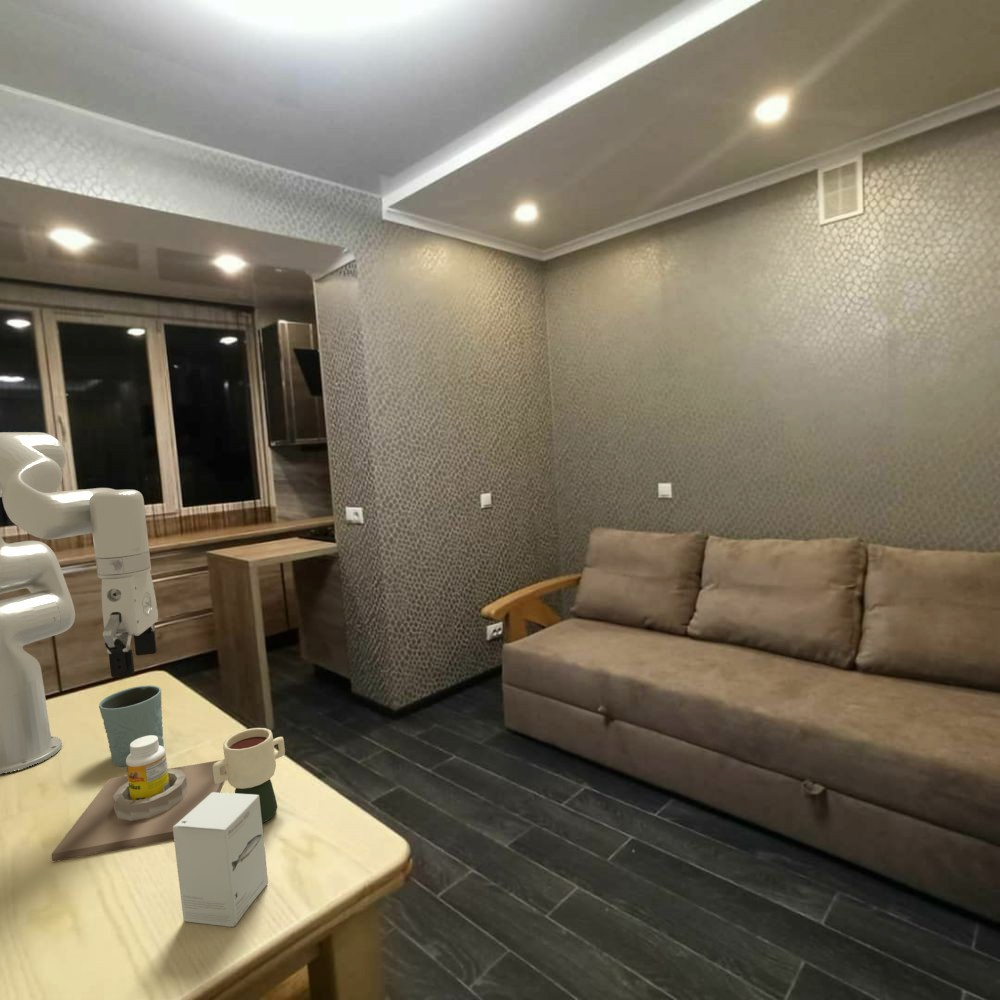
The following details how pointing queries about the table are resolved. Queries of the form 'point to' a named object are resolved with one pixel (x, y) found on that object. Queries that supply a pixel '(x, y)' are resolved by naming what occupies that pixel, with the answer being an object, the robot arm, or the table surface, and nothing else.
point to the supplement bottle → (147, 768)
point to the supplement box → (220, 858)
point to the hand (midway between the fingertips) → (135, 664)
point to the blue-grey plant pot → (131, 719)
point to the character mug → (251, 766)
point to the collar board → (137, 813)
